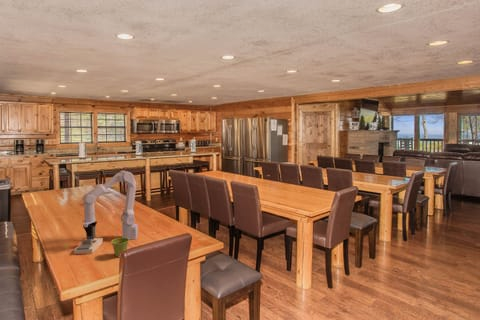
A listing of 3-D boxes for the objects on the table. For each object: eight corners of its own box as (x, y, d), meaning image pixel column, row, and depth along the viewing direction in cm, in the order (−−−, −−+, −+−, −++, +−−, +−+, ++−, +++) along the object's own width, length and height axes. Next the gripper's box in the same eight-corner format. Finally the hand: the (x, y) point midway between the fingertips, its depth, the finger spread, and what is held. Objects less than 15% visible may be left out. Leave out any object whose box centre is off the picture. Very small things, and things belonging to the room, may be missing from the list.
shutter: (92, 244, 185) (92, 239, 185) (88, 249, 178) (88, 243, 178) (81, 245, 184) (81, 239, 184) (76, 249, 178) (76, 244, 177)
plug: (95, 237, 192) (94, 224, 191) (93, 239, 189) (92, 226, 188) (88, 237, 192) (88, 224, 191) (86, 239, 188) (85, 226, 188)
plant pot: (129, 257, 174) (128, 242, 173) (111, 259, 171) (110, 244, 170) (130, 251, 183) (129, 236, 182) (112, 252, 180) (112, 238, 179)
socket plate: (102, 241, 197) (102, 238, 197) (92, 253, 179) (92, 249, 179) (86, 242, 196) (86, 238, 196) (74, 253, 178) (73, 249, 178)
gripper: (87, 210, 195) (88, 231, 197) (77, 216, 181) (78, 239, 182) (99, 210, 196) (99, 230, 198) (90, 216, 182) (91, 239, 183)
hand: (90, 235), depth 190 cm, fingers closed on plug, 3 cm apart
